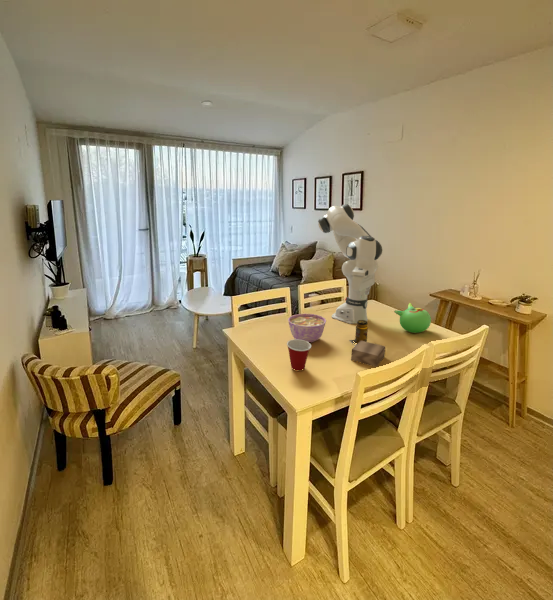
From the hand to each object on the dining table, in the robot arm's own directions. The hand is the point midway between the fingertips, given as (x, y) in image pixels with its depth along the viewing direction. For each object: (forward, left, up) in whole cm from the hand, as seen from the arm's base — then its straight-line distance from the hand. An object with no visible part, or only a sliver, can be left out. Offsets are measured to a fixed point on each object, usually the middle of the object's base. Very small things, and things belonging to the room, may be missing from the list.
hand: (363, 296), depth 169 cm
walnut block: (+11, -15, -26) cm, 32 cm away
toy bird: (+18, +34, -26) cm, 46 cm away
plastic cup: (-10, -43, -26) cm, 51 cm away
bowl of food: (-24, -14, -26) cm, 38 cm away
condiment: (0, 0, -26) cm, 26 cm away
